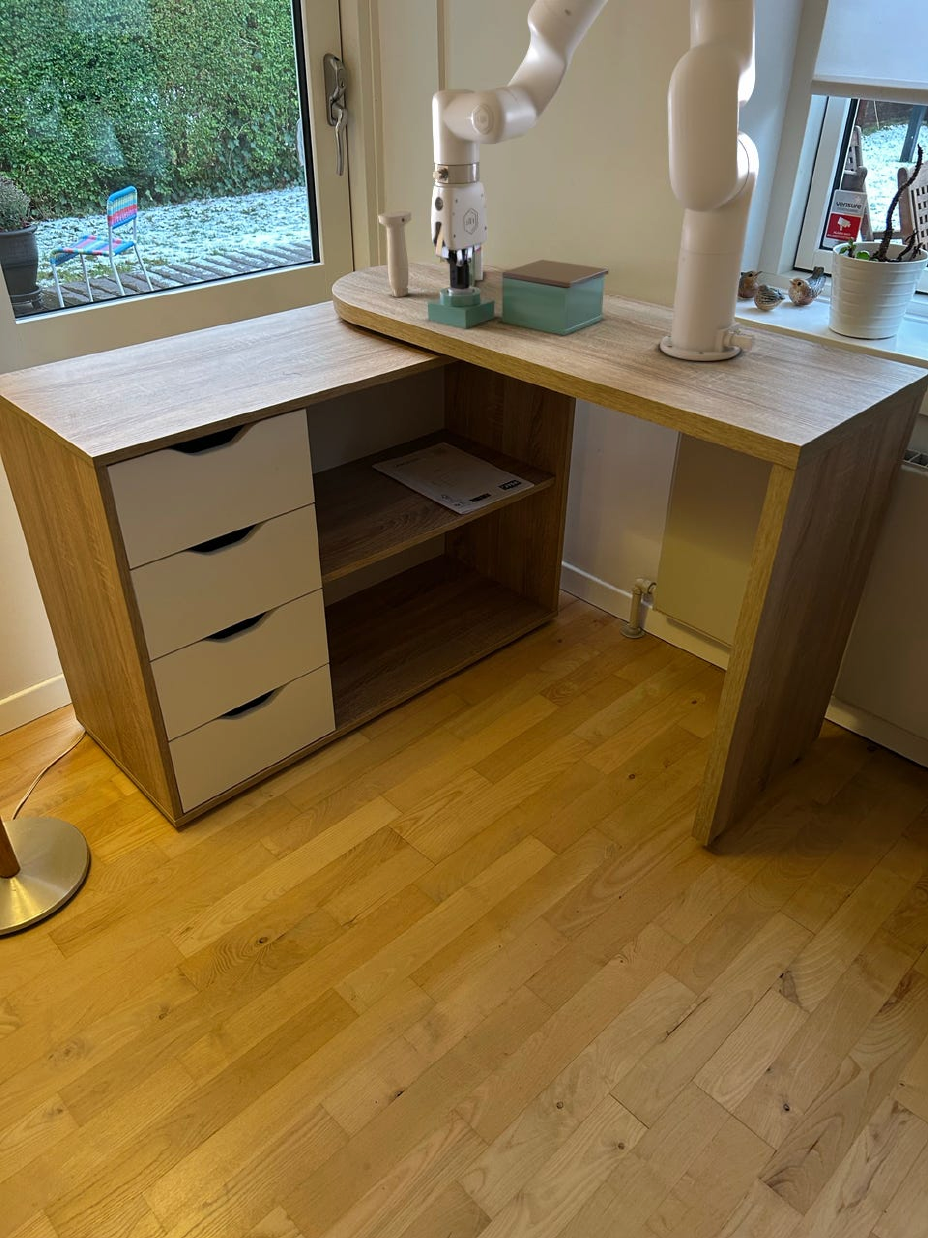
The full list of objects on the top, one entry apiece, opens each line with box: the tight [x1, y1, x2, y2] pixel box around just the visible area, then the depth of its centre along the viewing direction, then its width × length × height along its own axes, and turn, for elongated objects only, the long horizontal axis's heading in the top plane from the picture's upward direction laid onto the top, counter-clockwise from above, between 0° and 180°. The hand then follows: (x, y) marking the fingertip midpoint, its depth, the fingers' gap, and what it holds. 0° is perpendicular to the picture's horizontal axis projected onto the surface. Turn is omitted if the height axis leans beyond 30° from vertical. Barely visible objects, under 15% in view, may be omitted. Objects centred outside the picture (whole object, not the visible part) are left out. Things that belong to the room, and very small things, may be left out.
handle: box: [377, 210, 412, 298], centre depth 177 cm, size 5×6×15 cm
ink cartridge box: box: [475, 242, 484, 281], centre depth 188 cm, size 9×5×15 cm, turn 178°
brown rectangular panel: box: [502, 259, 609, 288], centre depth 158 cm, size 14×12×1 cm
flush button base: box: [427, 286, 495, 329], centre depth 164 cm, size 9×8×5 cm
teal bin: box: [501, 275, 605, 336], centre depth 161 cm, size 14×12×8 cm
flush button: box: [447, 285, 474, 295], centre depth 163 cm, size 4×4×2 cm
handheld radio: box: [468, 251, 476, 287], centre depth 181 cm, size 7×3×25 cm
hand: (459, 287), depth 163 cm, fingers closed
